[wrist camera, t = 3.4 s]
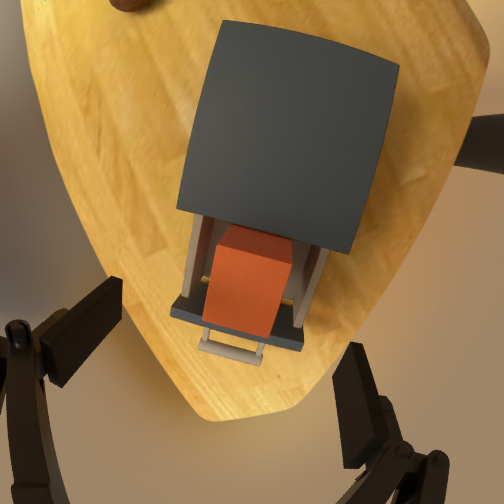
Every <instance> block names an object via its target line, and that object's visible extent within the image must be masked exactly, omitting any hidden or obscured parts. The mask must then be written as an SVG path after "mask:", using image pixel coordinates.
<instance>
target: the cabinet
mask: <svg viewBox="0 0 504 504" xmlns="http://www.w3.org/2000/svg"><path fill="white" fill-rule="evenodd" d="M399 67H400V65H398V64H396V63H393V62H391V61H389V60H386V59H384V58H381V57H378V56H376V55H373V54H370V53H368V52H365V51H362V50H359V49H356V48H353V47H350V46H347V45H344V44H341V43H338V42H334V41H331V40H327V39H324V38H320V37H316V36H313V35H309V34H304V33H300V32H296V31H291V30H287V29H282V28H277V27H271V26H265V25H259V24H253V23H246V22H238V21H229V20H223V21H222V24H221V27H220V30H219V33H218V36H217V40H216V43H215V46H214V49H213V53H212V56H211V59H210V63H209V66H208V70H207V73H206V77H205V81H204V84H203V88H202V92H201V96H200V100H199V103H198V107H197V111H196V115H195V120H194V124H193V128H192V132H191V137H190V141H189V146H188V150H187V155H186V160H185V164H184V169H183V174H182V179H181V185H180V190H179V195H178V201H177V206H176V209H179V210H183V211H187V212H191V213H195V214H199V215H203V216H207V217H211V218H214V219H218V220H222V221H226V222H230V223H234V224H238V225H241V226H245V227H249V228H253V229H256V230H260V231H264V232H268V233H271V234H275V235H279V236H282V237H286V238H290V239H293V240H297V241H301V242H304V243H308V244H311V245H315V246H319V247H322V248H326V249H329V250H333V251H336V252H340V253H343V254H347V255H348V254H349V252H350V250H351V247H352V244H353V241H354V238H355V235H356V232H357V229H358V226H359V223H360V220H361V217H362V214H363V211H364V208H365V204H366V201H367V198H368V195H369V191H370V188H371V185H372V181H373V178H374V174H375V171H376V167H377V164H378V160H379V156H380V152H381V149H382V145H383V141H384V137H385V133H386V129H387V125H388V120H389V116H390V112H391V107H392V103H393V98H394V93H395V88H396V83H397V78H398V73H399Z"/></svg>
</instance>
